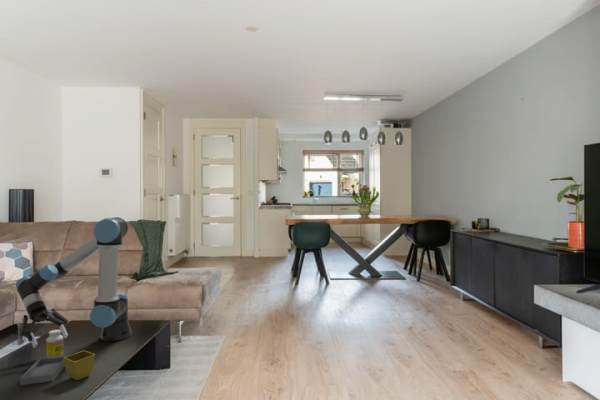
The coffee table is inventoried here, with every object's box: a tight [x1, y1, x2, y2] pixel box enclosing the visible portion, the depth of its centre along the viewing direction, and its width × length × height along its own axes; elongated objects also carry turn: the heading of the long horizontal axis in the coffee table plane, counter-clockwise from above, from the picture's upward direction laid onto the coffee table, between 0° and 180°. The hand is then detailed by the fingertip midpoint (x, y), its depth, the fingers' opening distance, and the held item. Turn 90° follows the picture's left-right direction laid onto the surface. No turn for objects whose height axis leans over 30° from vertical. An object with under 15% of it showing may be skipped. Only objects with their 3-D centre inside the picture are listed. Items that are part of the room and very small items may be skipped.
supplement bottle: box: [45, 329, 64, 358], centre depth 184 cm, size 7×7×13 cm
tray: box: [19, 355, 68, 386], centre depth 169 cm, size 12×20×3 cm, turn 15°
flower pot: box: [64, 350, 96, 381], centre depth 164 cm, size 9×9×9 cm
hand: (51, 341), depth 184 cm, fingers open, 13 cm apart
